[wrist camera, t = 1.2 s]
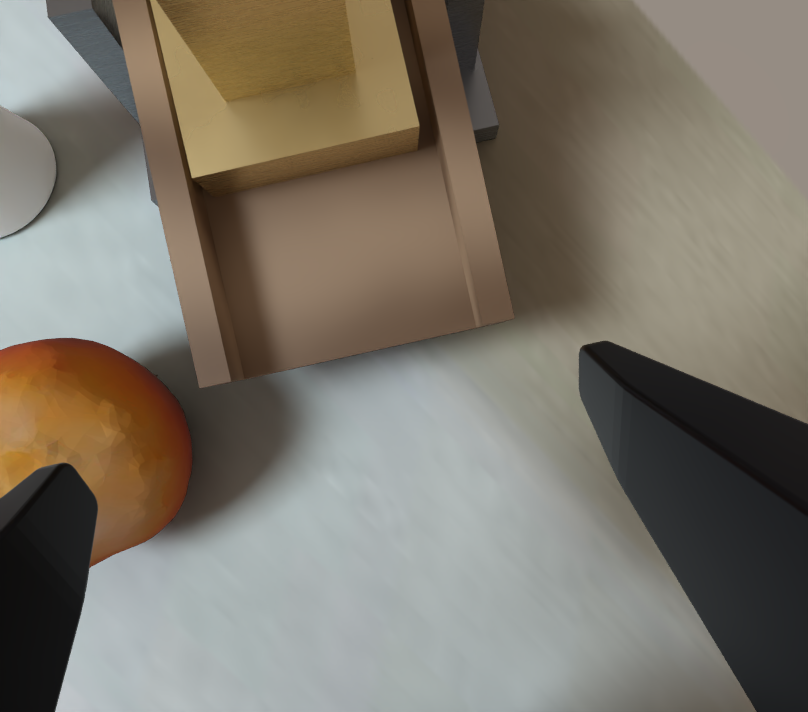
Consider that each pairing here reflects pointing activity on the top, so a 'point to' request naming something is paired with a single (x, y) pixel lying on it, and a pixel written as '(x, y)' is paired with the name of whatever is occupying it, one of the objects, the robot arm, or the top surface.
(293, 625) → the top surface
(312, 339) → the beam
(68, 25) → the beam stand
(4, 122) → the cosmetic bottle
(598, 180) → the top surface
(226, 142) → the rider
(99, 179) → the top surface
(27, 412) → the fruit
